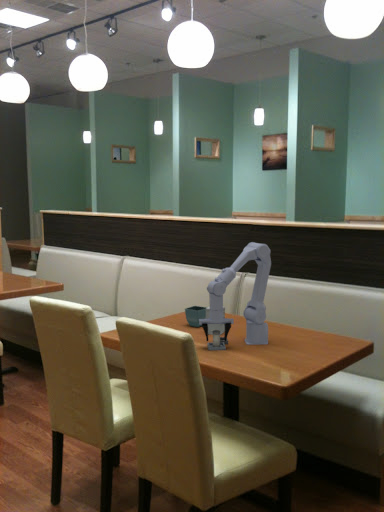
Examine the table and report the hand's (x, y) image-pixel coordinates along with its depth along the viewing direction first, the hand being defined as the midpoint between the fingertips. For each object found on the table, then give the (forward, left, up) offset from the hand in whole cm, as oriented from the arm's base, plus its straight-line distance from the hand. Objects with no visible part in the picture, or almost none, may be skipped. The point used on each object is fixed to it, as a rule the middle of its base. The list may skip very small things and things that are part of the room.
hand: (216, 340), depth 227 cm
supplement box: (-1, -24, -4) cm, 24 cm away
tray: (0, 0, -3) cm, 3 cm away
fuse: (0, 0, -3) cm, 3 cm away
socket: (-2, -8, -3) cm, 9 cm away
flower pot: (+7, -38, -4) cm, 39 cm away
